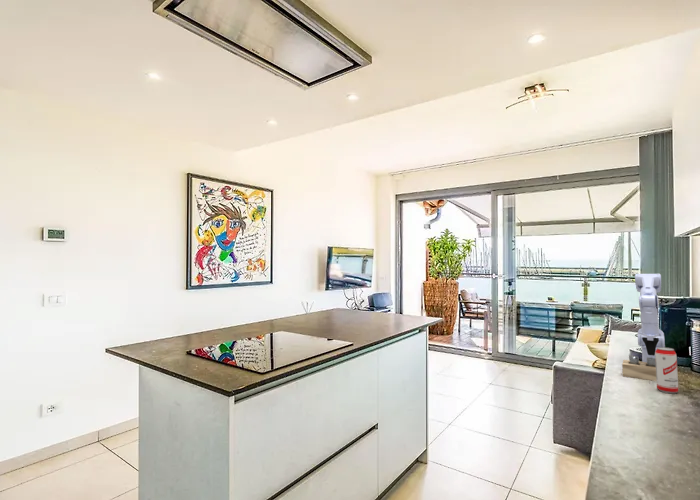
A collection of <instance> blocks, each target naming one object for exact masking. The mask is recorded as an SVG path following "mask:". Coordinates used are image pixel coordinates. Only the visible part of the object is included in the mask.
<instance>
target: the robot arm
mask: <svg viewBox="0 0 700 500" xmlns="http://www.w3.org/2000/svg"><path fill="white" fill-rule="evenodd" d="M634 282H635V283H634V285H635V287H636V288H635V290H636V292H638V293H639V294H640V295H639V296H638V305H639V311H640V323H641V328H639V329H638V330H637V345H638V346H639V347H641V356H642V357H641V358H642V360H641V362H647V358H648V357H649V358H655V351H656V350H657V347H665V348H666V343H665V333H664V332H663V330H662V329H660V328H659V317H658V316H659V314H658V309H659V297H658V293H660V292H661V291H662V274H660V273H636V274H635V275H634Z"/></svg>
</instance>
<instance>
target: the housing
mask: <svg viewBox="0 0 700 500" xmlns="http://www.w3.org/2000/svg"><path fill="white" fill-rule="evenodd" d="M621 367H622V369H621V370H622V377H624V378H632V379H639V380H646V381H647V380H648V381H652V382H653V381H655V382H657V380H656V367H652V366H647V362H642V361H639V365H635V364H630V359H623V361H622V364H621Z"/></svg>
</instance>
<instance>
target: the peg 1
mask: <svg viewBox="0 0 700 500" xmlns="http://www.w3.org/2000/svg"><path fill="white" fill-rule="evenodd" d="M628 357H629V359H628V360H630V364H635V365H639V359H640V358H639V356H638V355H629V356H628Z"/></svg>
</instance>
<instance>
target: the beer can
mask: <svg viewBox="0 0 700 500" xmlns="http://www.w3.org/2000/svg"><path fill="white" fill-rule="evenodd" d="M677 358H678V357H677V353H676V350H675V348H672V347H666V346H665V347H657V350H656V351H655V361H656V380H657V381H656V388H657V389H658V391H659V392H662V393H666V394H676V393H678V392H679V377H678V376H679V374H678V359H677Z"/></svg>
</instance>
